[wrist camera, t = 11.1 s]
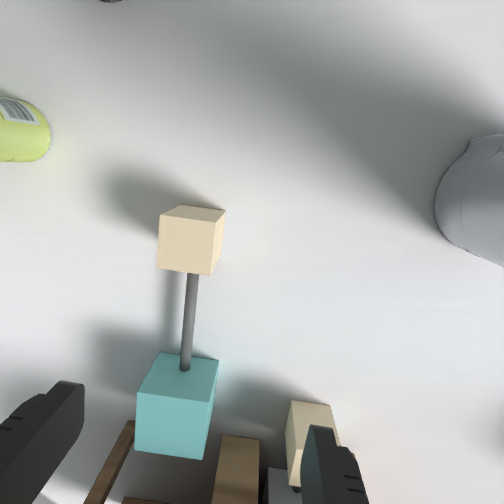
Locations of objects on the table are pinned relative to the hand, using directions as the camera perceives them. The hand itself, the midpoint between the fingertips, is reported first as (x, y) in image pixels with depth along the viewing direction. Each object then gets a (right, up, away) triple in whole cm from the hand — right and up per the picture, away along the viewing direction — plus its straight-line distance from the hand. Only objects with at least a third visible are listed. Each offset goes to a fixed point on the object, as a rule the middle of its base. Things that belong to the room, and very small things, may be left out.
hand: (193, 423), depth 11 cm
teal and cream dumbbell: (-4, 0, +20) cm, 21 cm away
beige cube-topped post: (+7, -17, +24) cm, 30 cm away
